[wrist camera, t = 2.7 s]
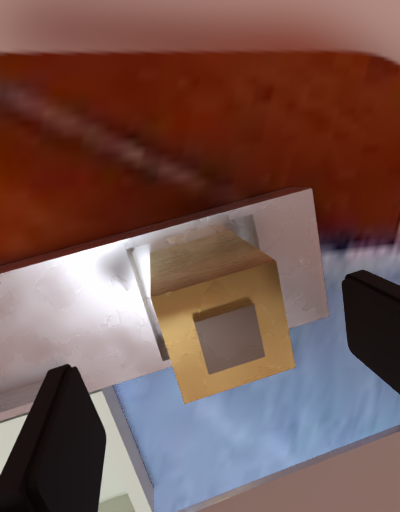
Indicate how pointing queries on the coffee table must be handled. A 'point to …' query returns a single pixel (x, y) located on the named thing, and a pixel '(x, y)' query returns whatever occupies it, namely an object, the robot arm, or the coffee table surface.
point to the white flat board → (137, 294)
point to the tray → (115, 461)
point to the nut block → (220, 313)
